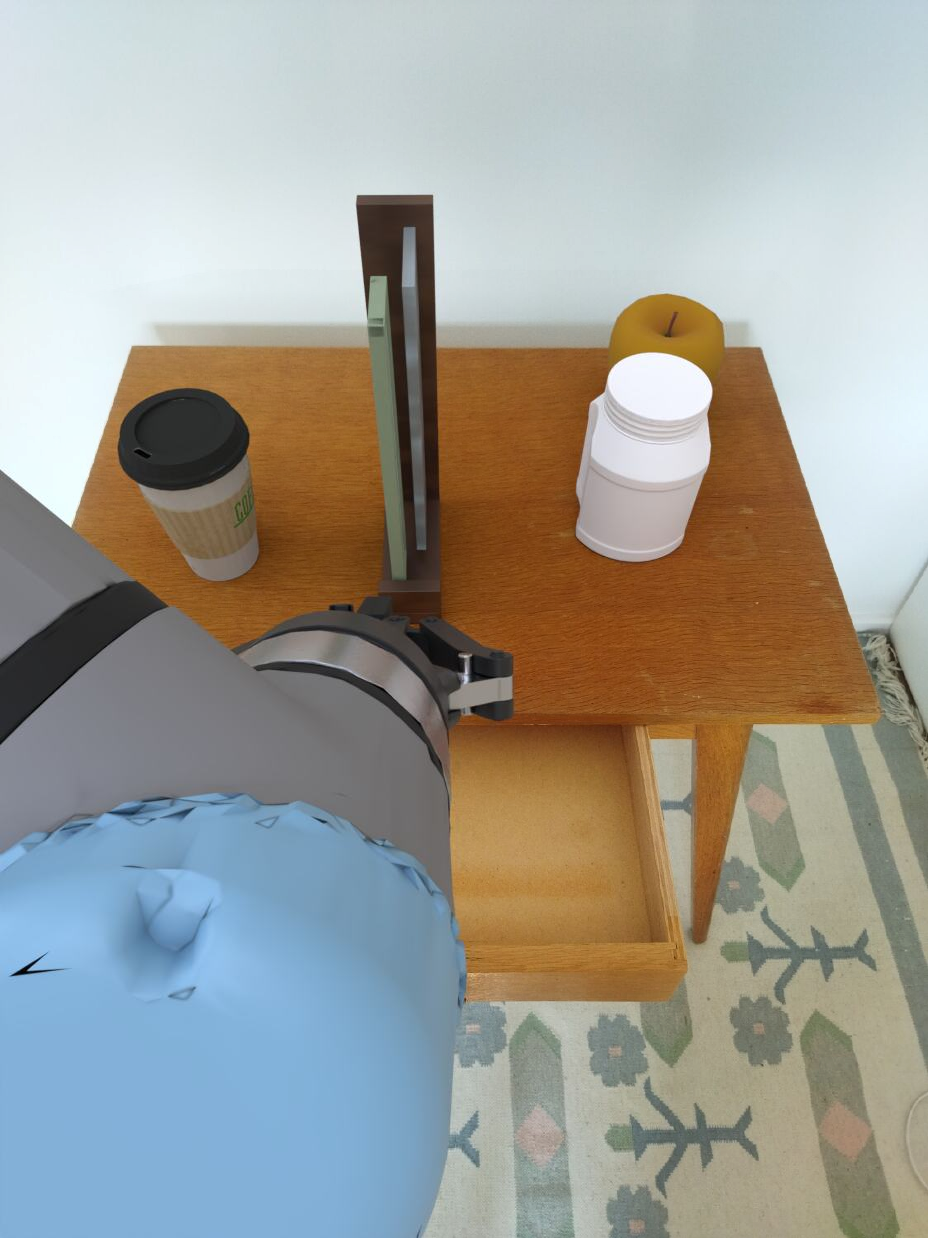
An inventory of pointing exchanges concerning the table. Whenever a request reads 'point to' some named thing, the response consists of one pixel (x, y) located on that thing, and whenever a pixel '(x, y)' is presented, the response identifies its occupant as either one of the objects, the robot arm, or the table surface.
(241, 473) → the coffee cup
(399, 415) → the window frame
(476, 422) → the table surface
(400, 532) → the window sash
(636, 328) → the apple
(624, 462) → the jar
